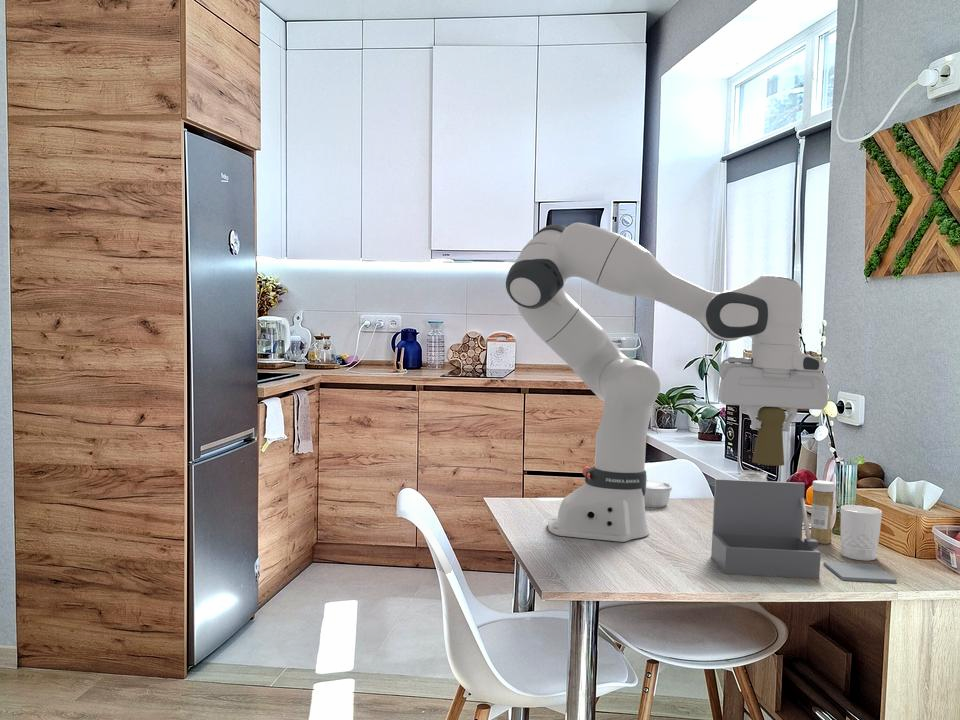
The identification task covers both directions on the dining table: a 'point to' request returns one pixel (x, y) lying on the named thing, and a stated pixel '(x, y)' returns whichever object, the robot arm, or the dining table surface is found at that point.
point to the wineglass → (752, 475)
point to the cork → (770, 437)
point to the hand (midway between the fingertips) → (770, 430)
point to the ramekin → (656, 494)
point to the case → (762, 529)
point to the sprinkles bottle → (822, 511)
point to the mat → (859, 572)
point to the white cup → (860, 531)
